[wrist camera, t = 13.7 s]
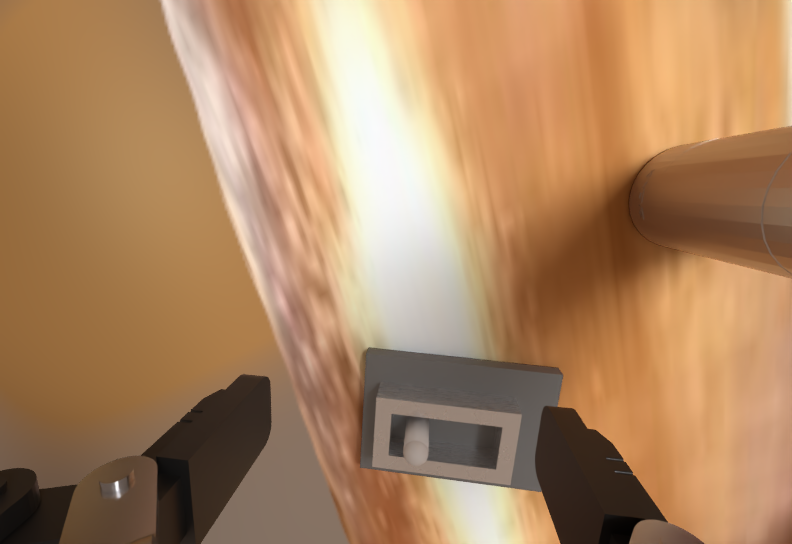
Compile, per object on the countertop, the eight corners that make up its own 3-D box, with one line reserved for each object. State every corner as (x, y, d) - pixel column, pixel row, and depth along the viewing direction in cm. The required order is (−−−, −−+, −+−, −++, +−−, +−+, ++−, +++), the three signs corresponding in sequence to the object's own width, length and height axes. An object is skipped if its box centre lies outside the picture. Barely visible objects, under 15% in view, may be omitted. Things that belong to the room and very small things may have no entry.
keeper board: (558, 367, 38) (588, 411, 31) (537, 481, 41) (560, 545, 34) (368, 347, 40) (353, 384, 32) (362, 458, 43) (347, 514, 36)
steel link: (515, 397, 38) (521, 414, 35) (504, 463, 40) (510, 485, 37) (380, 381, 39) (376, 397, 36) (376, 446, 41) (372, 466, 38)
